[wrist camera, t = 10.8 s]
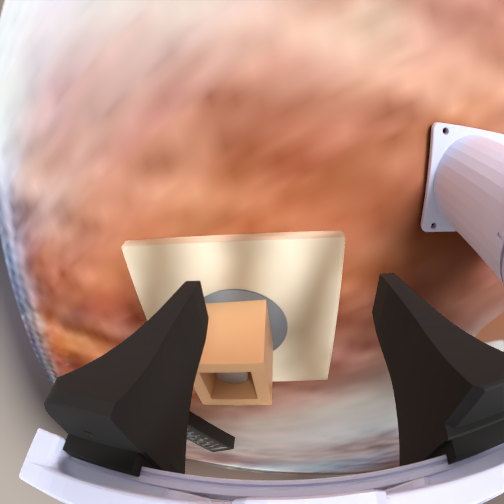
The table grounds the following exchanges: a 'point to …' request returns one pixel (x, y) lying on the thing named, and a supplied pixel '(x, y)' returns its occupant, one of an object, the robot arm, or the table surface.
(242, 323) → the collar
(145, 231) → the table surface
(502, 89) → the table surface
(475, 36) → the table surface
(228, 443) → the multiport hub
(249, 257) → the post board
